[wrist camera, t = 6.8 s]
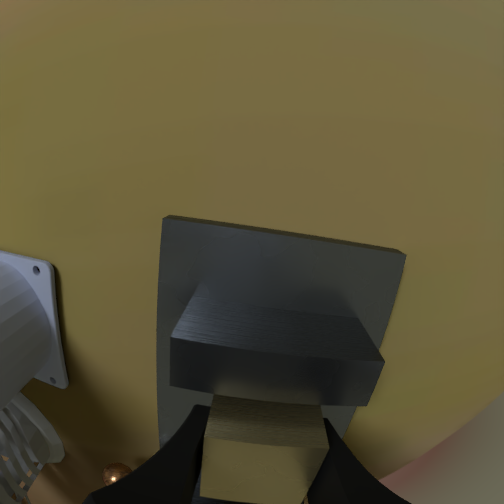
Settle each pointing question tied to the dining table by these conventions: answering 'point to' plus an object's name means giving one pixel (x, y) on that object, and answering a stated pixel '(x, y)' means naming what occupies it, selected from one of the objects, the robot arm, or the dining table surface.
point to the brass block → (261, 450)
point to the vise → (269, 318)
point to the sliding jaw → (121, 470)
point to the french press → (24, 447)
